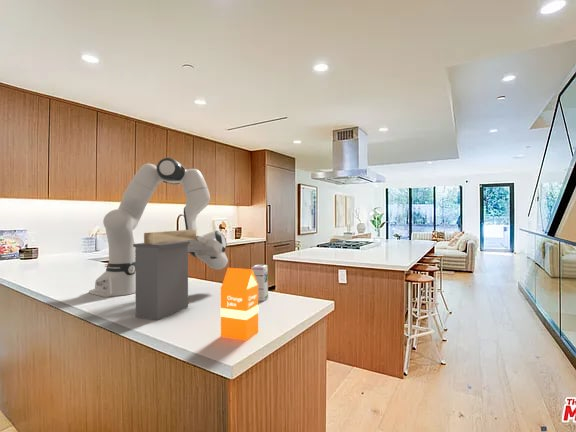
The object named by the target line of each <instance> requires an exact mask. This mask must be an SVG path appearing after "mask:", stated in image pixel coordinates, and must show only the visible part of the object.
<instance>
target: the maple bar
mask: <svg viewBox="0 0 576 432" xmlns="http://www.w3.org/2000/svg"><path fill="white" fill-rule="evenodd" d="M195 238H196V230H186V229H181V230H168V231H166V230H165V231H153V232H152V231H151V232H144V233H143V243H144V244H161V243H170V242H178V241H187V240H195Z"/></svg>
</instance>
